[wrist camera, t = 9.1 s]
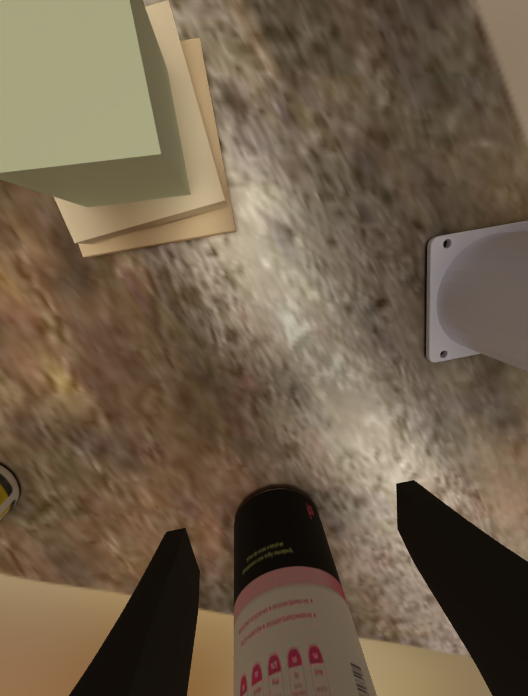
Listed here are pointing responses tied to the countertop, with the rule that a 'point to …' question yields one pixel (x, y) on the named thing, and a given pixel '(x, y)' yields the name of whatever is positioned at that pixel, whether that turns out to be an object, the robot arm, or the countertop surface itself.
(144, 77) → the green block
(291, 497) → the beverage can
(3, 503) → the supplement bottle
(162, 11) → the tan square tile
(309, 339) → the countertop surface
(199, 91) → the tower base
